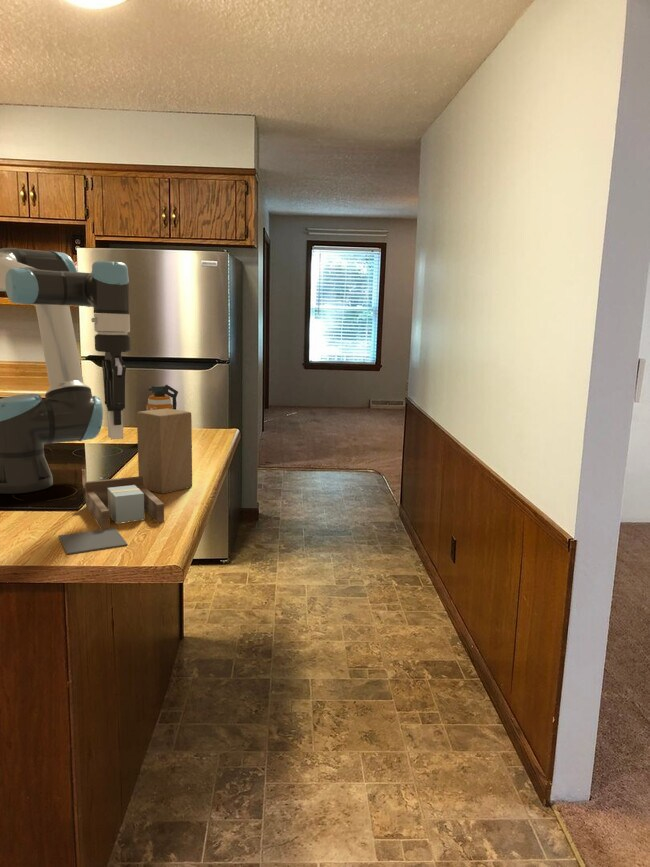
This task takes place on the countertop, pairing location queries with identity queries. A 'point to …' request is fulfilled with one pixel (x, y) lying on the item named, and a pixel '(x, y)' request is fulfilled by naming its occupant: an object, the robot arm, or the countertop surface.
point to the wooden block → (165, 449)
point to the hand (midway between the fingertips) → (115, 437)
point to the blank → (125, 503)
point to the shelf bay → (99, 499)
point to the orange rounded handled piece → (161, 398)
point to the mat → (92, 540)
